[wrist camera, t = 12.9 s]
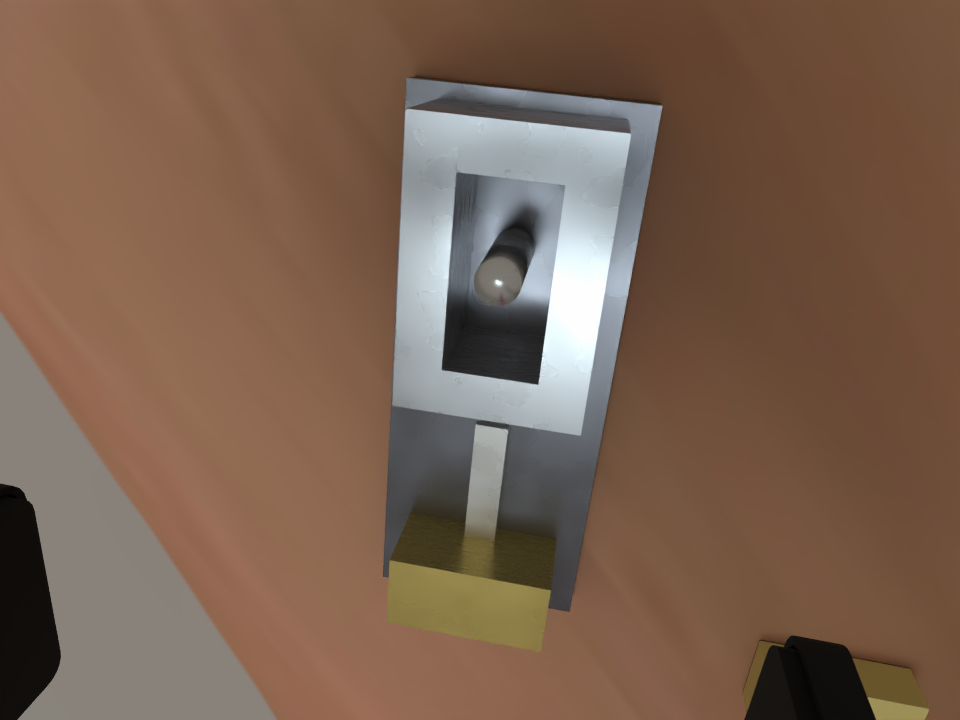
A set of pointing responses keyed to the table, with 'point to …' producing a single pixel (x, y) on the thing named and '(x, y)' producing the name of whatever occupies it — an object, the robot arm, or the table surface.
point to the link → (447, 259)
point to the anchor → (866, 687)
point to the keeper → (497, 446)
